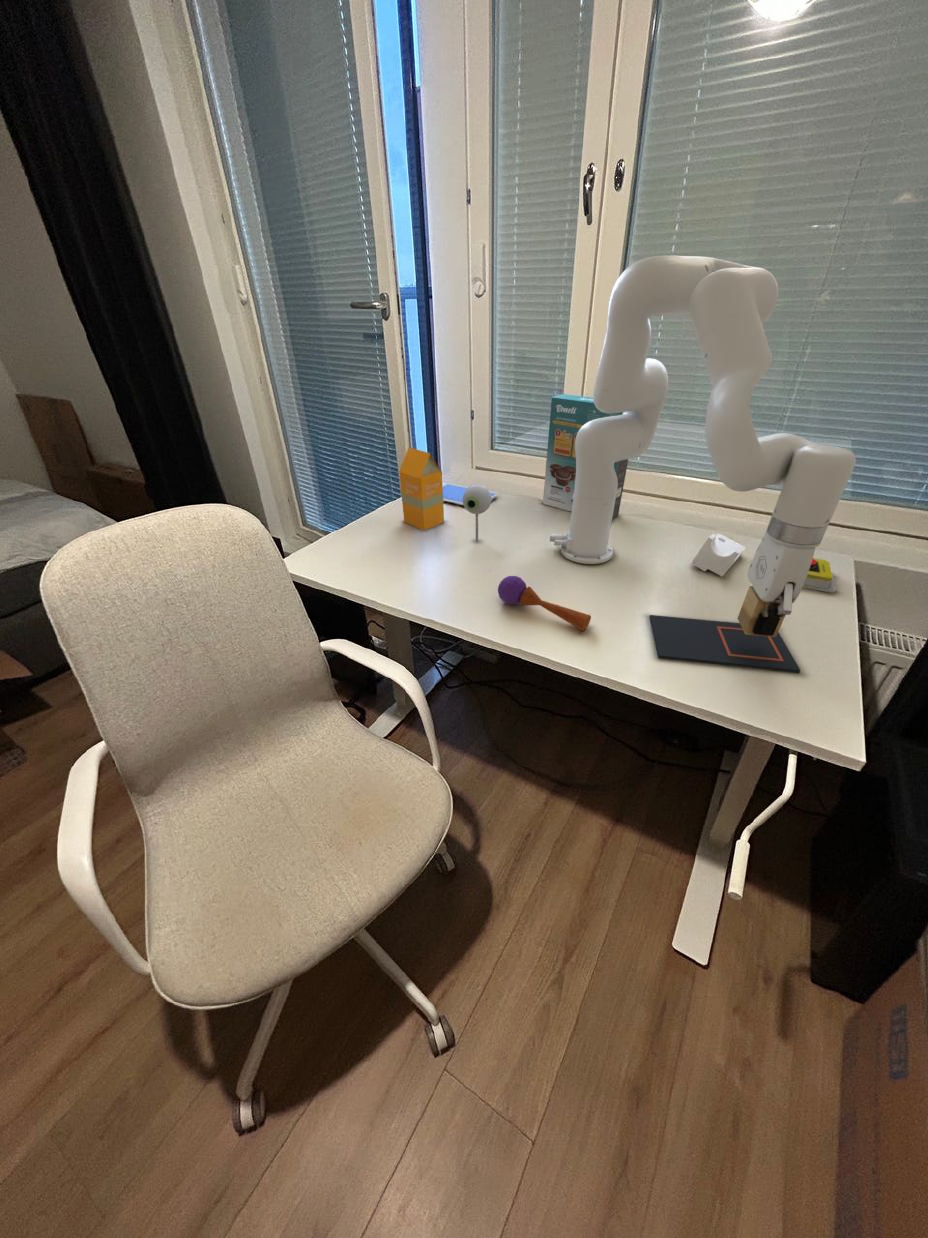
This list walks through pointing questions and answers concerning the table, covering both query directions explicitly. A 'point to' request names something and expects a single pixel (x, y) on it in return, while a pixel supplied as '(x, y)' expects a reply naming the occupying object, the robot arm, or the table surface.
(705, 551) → the bracket
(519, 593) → the kendama
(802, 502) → the robot arm
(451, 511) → the table surface
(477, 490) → the eyeball on stand
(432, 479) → the orange juice
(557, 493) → the cake mix box
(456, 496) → the tablet
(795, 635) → the table surface
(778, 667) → the desk mat
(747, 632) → the piece
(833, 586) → the emergency button
